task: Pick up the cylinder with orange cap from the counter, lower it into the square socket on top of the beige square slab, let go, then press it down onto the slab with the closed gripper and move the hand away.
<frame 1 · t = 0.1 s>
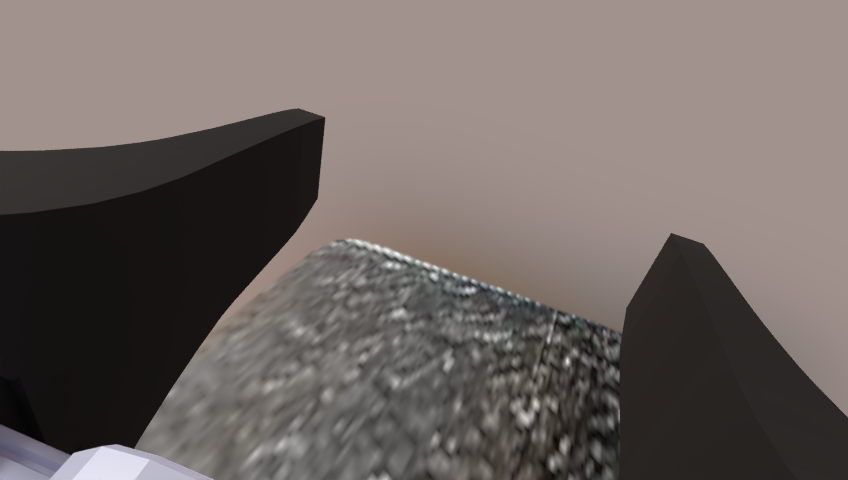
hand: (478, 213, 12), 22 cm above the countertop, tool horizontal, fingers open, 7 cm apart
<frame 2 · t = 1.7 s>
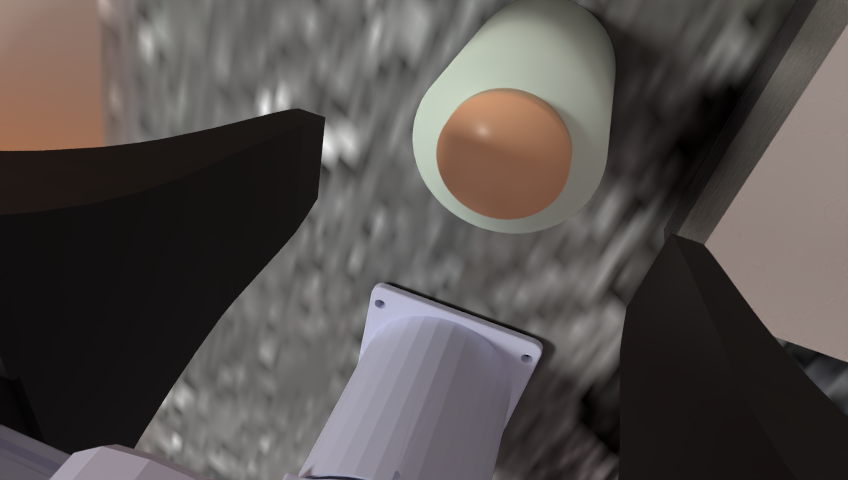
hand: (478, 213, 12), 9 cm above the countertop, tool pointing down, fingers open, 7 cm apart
cylinder with orange cap: (538, 73, 19), on the countertop
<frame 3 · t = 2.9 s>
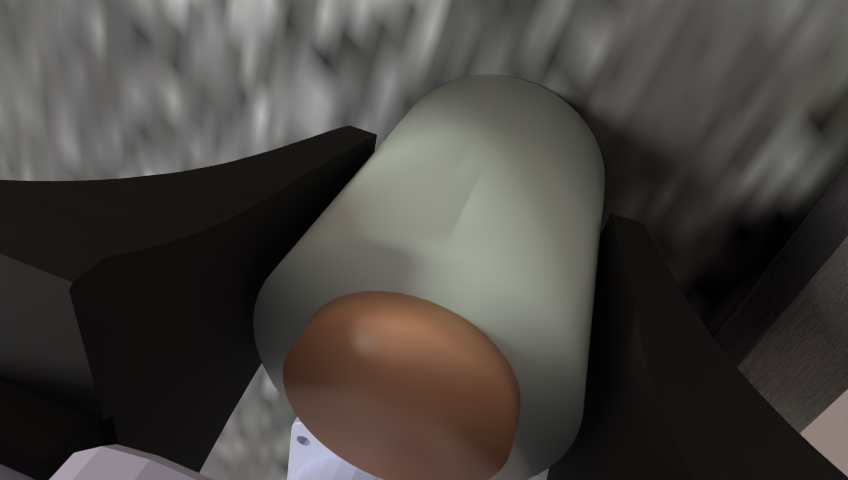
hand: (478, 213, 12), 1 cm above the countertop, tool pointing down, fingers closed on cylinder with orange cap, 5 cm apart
cylinder with orange cap: (492, 181, 13), on the countertop, touching gripper
when the fingers open (5 cm above the countertop, at t = 6.4 s): cylinder with orange cap drops 2 cm, resting on beige square slab.
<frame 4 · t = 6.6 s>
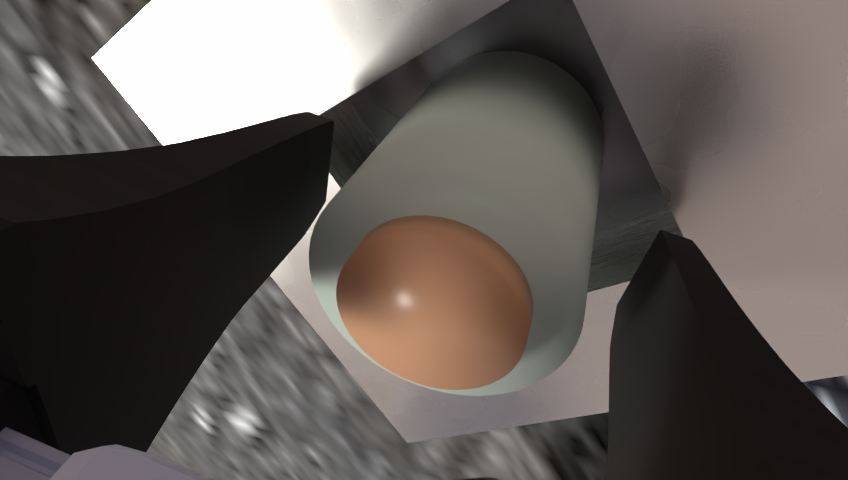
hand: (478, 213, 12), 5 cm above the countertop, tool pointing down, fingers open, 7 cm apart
beige square slab: (518, 121, 15), on the countertop
cylinder with orange cap: (504, 147, 14), point 2 cm above the countertop, touching beige square slab
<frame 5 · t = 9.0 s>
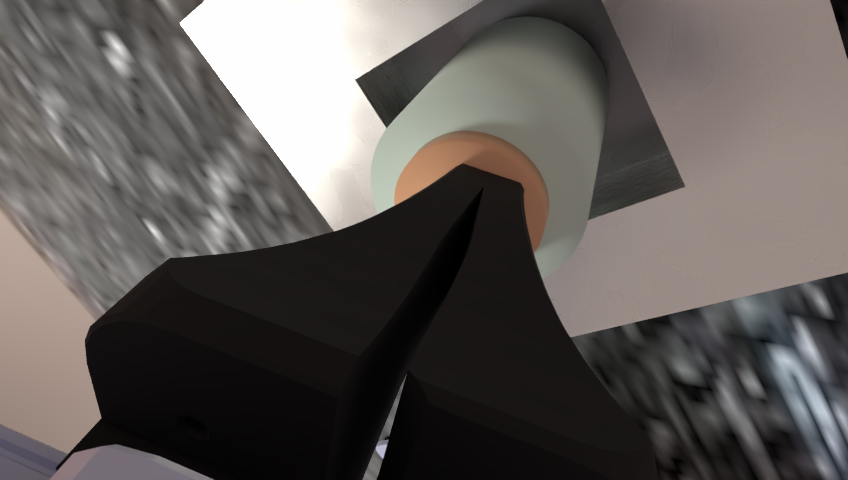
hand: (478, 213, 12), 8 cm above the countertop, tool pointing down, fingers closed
beige square slab: (535, 80, 18), on the countertop
cylinder with orange cap: (524, 101, 17), point 2 cm above the countertop, touching beige square slab
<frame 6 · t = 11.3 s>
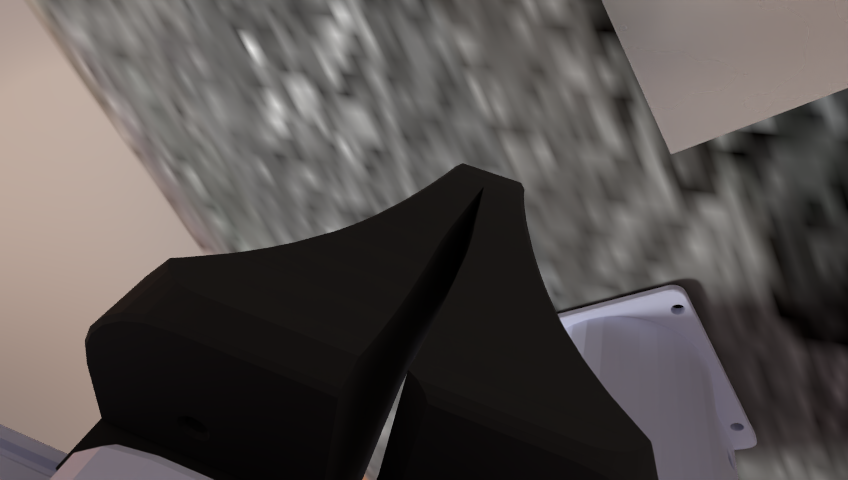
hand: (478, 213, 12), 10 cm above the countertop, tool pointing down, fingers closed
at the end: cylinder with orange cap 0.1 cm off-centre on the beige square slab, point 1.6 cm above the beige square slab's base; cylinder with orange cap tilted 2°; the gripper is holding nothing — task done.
